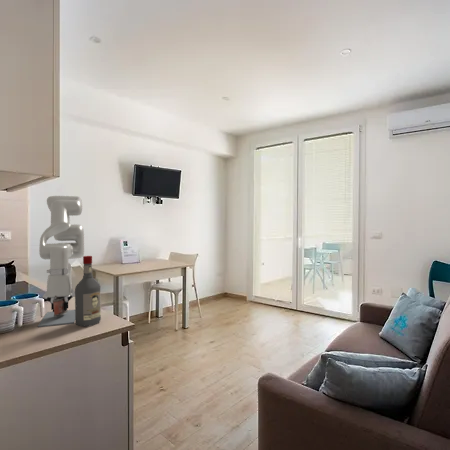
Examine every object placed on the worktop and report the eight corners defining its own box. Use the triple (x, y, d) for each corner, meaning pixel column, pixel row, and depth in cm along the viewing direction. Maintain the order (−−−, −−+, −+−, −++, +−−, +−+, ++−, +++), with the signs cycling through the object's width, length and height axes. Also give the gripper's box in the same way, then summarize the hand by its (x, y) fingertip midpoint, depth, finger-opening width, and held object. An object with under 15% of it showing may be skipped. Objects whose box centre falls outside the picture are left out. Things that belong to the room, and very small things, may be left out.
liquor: (72, 324, 139) (71, 256, 138) (90, 318, 147) (89, 254, 146) (86, 327, 135) (85, 258, 134) (103, 321, 143) (103, 255, 142)
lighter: (62, 311, 151) (61, 290, 151) (69, 310, 151) (68, 290, 151) (51, 316, 143) (50, 295, 143) (58, 316, 143) (57, 294, 143)
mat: (47, 313, 154) (47, 311, 154) (78, 310, 159) (78, 309, 159) (38, 327, 135) (38, 325, 135) (73, 323, 140) (73, 322, 140)
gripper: (37, 274, 140) (37, 314, 141) (78, 272, 145) (78, 311, 146) (40, 271, 147) (41, 309, 148) (80, 269, 153) (80, 306, 153)
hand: (60, 310), depth 147 cm, fingers closed on lighter, 4 cm apart
